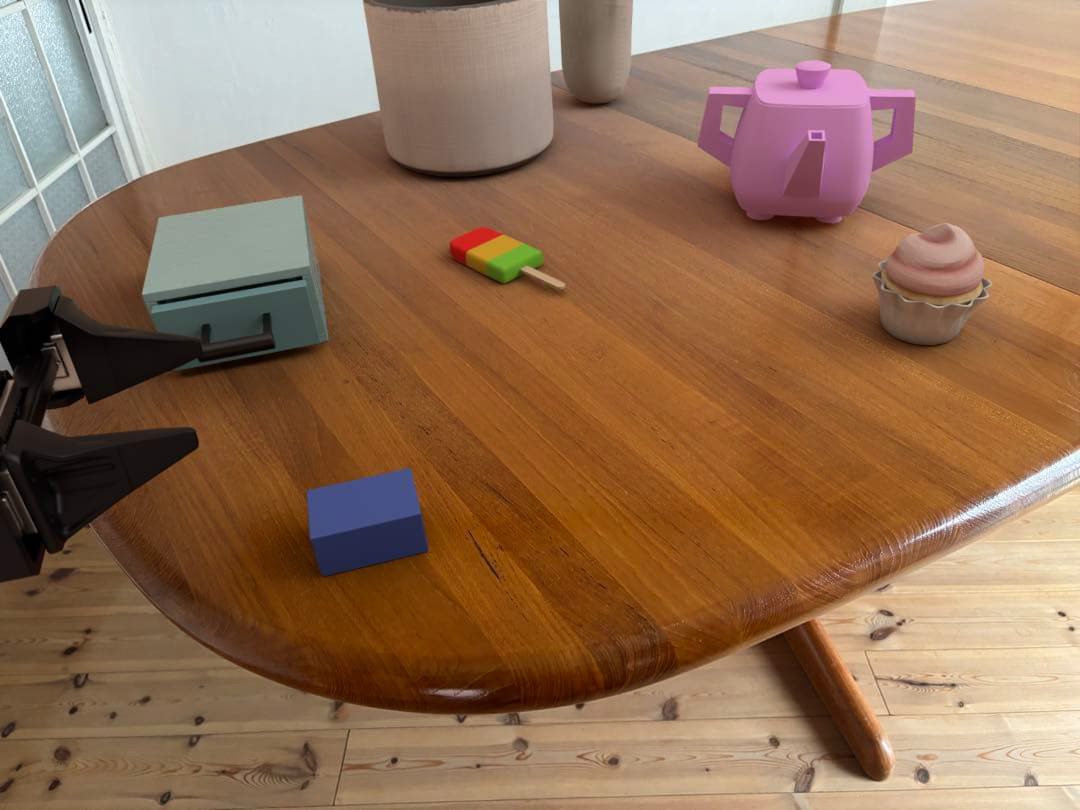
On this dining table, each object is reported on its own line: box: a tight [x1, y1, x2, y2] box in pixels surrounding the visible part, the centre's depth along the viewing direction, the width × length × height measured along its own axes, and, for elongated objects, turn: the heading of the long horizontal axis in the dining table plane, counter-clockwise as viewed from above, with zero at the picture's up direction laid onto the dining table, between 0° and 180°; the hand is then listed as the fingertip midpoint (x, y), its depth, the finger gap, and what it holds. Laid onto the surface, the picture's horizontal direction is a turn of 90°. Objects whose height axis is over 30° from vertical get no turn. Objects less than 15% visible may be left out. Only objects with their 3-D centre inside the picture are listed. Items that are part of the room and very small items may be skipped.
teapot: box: [697, 59, 917, 224], centre depth 88 cm, size 19×18×15 cm
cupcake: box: [871, 222, 993, 346], centre depth 69 cm, size 9×9×10 cm
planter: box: [362, 0, 555, 178], centre depth 105 cm, size 23×23×20 cm
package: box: [306, 467, 429, 578], centre depth 54 cm, size 5×7×4 cm, turn 106°
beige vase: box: [558, 0, 634, 104], centre depth 116 cm, size 10×10×28 cm
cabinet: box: [141, 195, 330, 371], centre depth 78 cm, size 16×14×8 cm
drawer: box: [151, 276, 322, 372], centre depth 74 cm, size 20×13×6 cm, turn 16°
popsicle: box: [449, 226, 567, 290], centre depth 83 cm, size 6×15×2 cm, turn 43°
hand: (199, 388), depth 44 cm, fingers open, 9 cm apart
